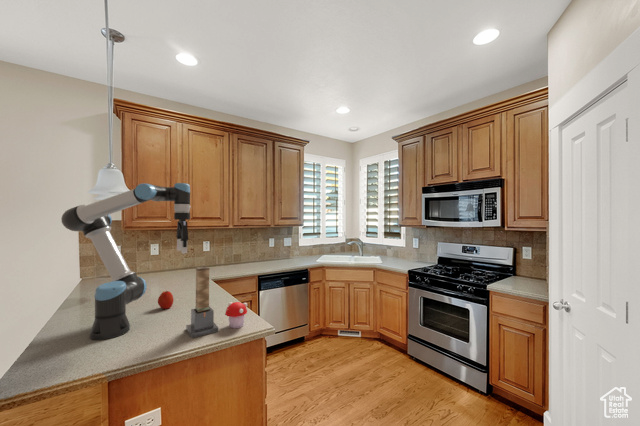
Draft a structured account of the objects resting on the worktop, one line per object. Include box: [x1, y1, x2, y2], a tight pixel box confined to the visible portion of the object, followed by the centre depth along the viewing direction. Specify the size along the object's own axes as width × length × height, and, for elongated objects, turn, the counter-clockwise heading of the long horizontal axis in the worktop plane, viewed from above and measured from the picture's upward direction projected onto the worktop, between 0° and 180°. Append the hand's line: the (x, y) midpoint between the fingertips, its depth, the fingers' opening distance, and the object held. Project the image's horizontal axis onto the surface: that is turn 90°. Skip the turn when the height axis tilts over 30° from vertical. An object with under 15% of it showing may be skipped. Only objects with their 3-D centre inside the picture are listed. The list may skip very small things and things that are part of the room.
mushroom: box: [224, 301, 248, 329], centre depth 138 cm, size 11×11×12 cm
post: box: [194, 266, 210, 312], centre depth 132 cm, size 5×5×20 cm
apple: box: [157, 290, 174, 310], centre depth 164 cm, size 8×8×11 cm
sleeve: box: [185, 305, 219, 339], centre depth 132 cm, size 12×12×10 cm
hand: (181, 252), depth 144 cm, fingers open, 13 cm apart
